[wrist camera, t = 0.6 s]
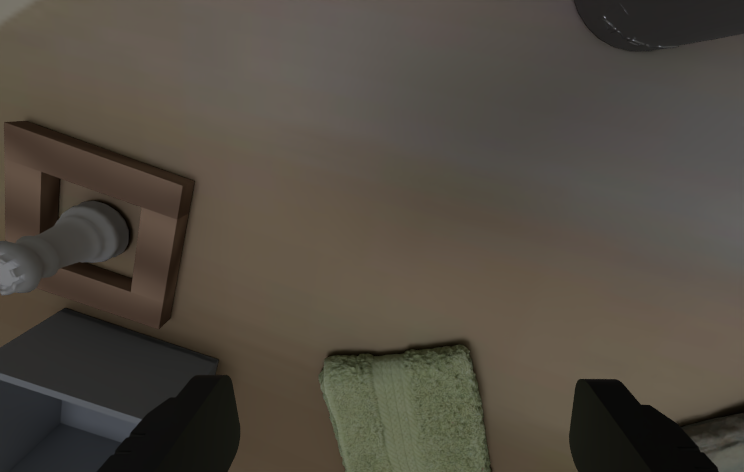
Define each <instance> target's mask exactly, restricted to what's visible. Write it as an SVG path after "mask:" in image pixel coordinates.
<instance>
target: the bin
mask: <svg viewBox="0 0 744 472" xmlns="http://www.w3.org/2000/svg"><path fill="white" fill-rule="evenodd" d="M218 361H219V360H218V359H215V358H212V357H209V356H206V355H203V354H200V353H197V352H194V351H191V350H188V349H185V348H182V347H180V346H177V345H174V344H171V343H168V342H165V341H162V340H159V339H156V338H153V337H150V336H147V335H144V334H141V333H138V332H135V331H132V330H129V329H126V328H123V327H120V326H117V325H114V324H111V323H108V322H105V321H102V320H99V319H96V318H93V317H91V316H88V315H85V314H82V313H79V312H76V311H73V310H70V309H67V308H64V309H62V310H61V311H59V312H57V313H56V314H54V315H53V316H51V317H49V318H48V319H46V320H44V321H43V322H41V323H40V324H38V325H36V326H35V327H33V328H31V329H30V330H28V331H27V332H25V333H23V334H22V335H20V336H18V337H17V338H15V339H14V340H12V341H10V342H9V343H7V344H5V345H4V346H2V347H1V348H0V472H97V471H98V469H99V468H100V467H101V466H102V465H103V464H104V463H105V461H106V460H107V459H108V458H109V457H110V456H111V455H114V454H115V450H116V449H117V448H118V446H119V445H120V444H121V443H122V442H123V441H124V440H125V438H126V437H129V436H130V433H131V432H132V430H133V429H134V428H135V427H136V426H137V425H138V424H139V422H140V421H141V420H142V419H143V418H144V417H145V416H146V414H147V413H149V412H150V411H152V410H153V409H154V408H156V407H157V406H159V405H160V404H161V403H163V402H164V401H166V400H167V399H168V398H170V397H176V396H177V395H178V394H179V393H180V391H181V390H182V389H183V388H184V387H185V385H186V384H187V383H188V382H189V380H190V379H191V378H192V377H194V376H195V375H215V373H216V369H217V365H218Z"/></svg>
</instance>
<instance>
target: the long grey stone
mask: <svg viewBox="0 0 744 472" xmlns="http://www.w3.org/2000/svg"><path fill="white" fill-rule="evenodd" d="M681 428H682V429H683V430H684V432H685V433H686V434H687V435H688V436H689V437H690V438H691V439H692V440H693V441H694V442H695V443H696V445H697V446H698V447H699V450H700V452H704V453H705V454H706V455H707V456H708V458H709V459H710V460H711V461H712V462H713V463H714V464H715V465H716V466H717V467H718V471H719V472H744V413H740V414H734V415H730V416H726V417H722V418H714V419H709V420H706V421H701V422H699V423H695V424H690V425H687V426H684V427H681Z"/></svg>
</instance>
